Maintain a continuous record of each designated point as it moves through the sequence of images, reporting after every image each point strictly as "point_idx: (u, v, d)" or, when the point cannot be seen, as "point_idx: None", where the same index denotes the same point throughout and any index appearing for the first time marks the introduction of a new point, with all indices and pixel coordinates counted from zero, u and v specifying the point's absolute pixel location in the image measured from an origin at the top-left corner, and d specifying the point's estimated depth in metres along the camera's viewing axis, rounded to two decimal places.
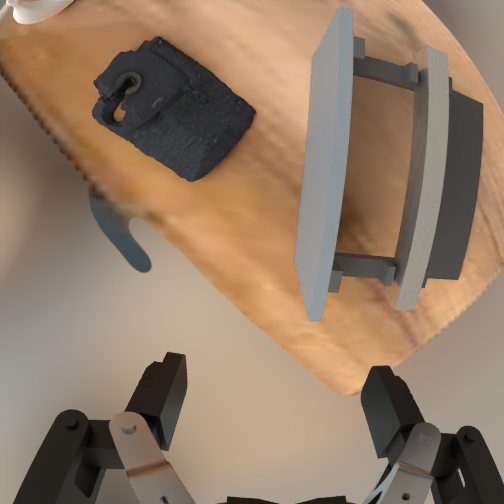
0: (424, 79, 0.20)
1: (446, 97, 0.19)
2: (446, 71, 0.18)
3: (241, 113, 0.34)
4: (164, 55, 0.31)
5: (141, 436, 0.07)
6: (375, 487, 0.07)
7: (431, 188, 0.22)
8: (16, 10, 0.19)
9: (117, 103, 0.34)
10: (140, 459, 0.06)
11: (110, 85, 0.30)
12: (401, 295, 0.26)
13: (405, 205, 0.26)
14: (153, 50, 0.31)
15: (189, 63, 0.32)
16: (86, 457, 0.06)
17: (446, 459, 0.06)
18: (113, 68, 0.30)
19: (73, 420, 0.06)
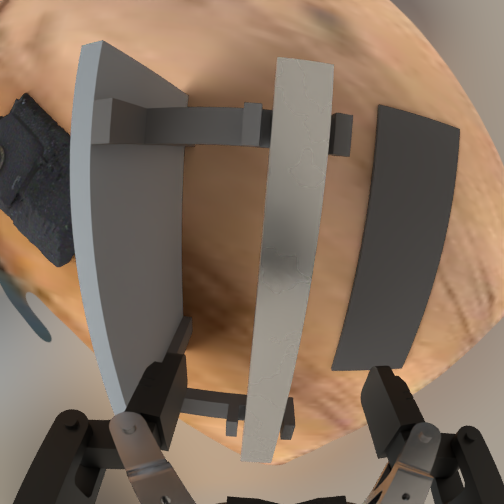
0: None
1: (318, 172, 0.12)
2: (326, 108, 0.11)
3: None
4: (24, 120, 0.23)
5: (141, 436, 0.07)
6: (375, 487, 0.07)
7: (273, 350, 0.15)
8: None
9: None
10: (140, 459, 0.06)
11: None
12: (246, 452, 0.18)
13: None
14: (16, 115, 0.23)
15: (45, 127, 0.24)
16: (86, 457, 0.06)
17: (446, 459, 0.06)
18: None
19: (73, 420, 0.06)
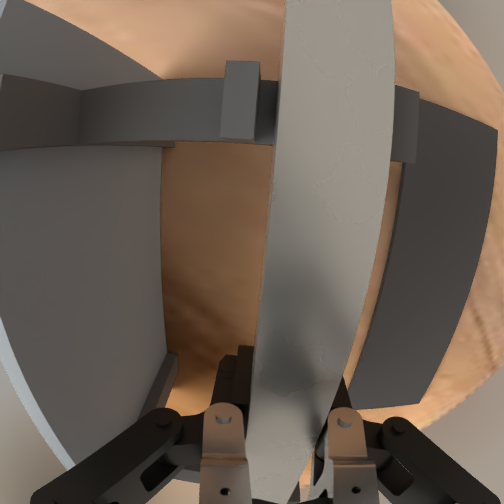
0: (277, 119, 0.06)
1: (373, 194, 0.06)
2: (385, 69, 0.05)
3: None
4: None
5: (240, 425, 0.08)
6: (313, 481, 0.07)
7: (275, 455, 0.09)
8: None
9: None
10: (221, 449, 0.07)
11: None
12: None
13: None
14: None
15: None
16: (165, 456, 0.07)
17: (370, 449, 0.07)
18: None
19: (166, 420, 0.07)
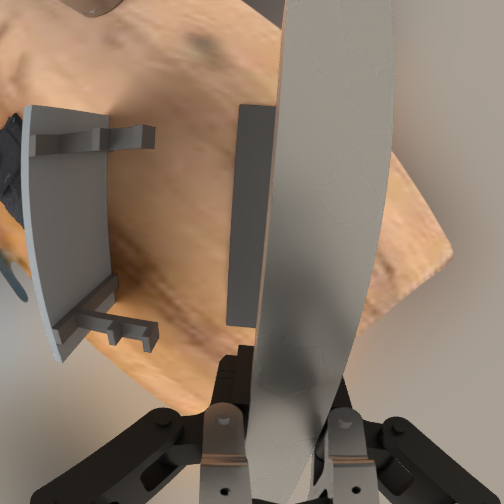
0: (277, 122, 0.06)
1: (372, 197, 0.06)
2: (385, 71, 0.05)
3: None
4: (14, 133, 0.32)
5: (240, 424, 0.08)
6: (313, 481, 0.07)
7: (274, 455, 0.09)
8: None
9: None
10: (221, 449, 0.07)
11: None
12: None
13: None
14: (8, 130, 0.32)
15: None
16: (165, 456, 0.07)
17: (370, 449, 0.07)
18: None
19: (166, 420, 0.07)
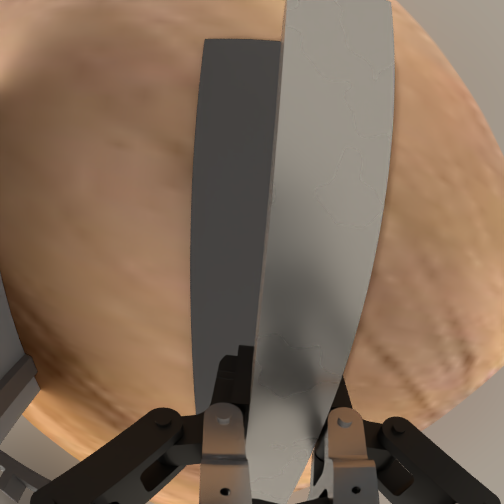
0: None
1: (372, 198, 0.06)
2: (385, 72, 0.05)
3: None
4: None
5: (240, 424, 0.08)
6: (313, 481, 0.07)
7: (274, 455, 0.09)
8: None
9: None
10: (221, 449, 0.07)
11: None
12: None
13: None
14: None
15: None
16: (165, 456, 0.07)
17: (371, 449, 0.07)
18: None
19: (166, 420, 0.07)
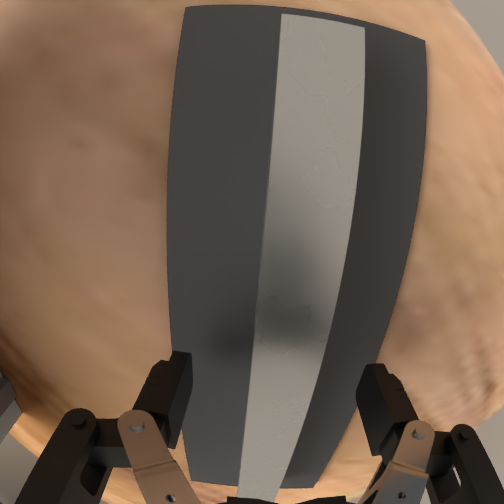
0: (272, 128, 0.08)
1: (345, 185, 0.08)
2: (356, 87, 0.07)
3: None
4: None
5: (150, 434, 0.07)
6: (370, 486, 0.07)
7: (273, 416, 0.10)
8: None
9: None
10: (147, 457, 0.06)
11: None
12: None
13: None
14: None
15: None
16: (93, 456, 0.06)
17: (440, 457, 0.06)
18: None
19: (81, 419, 0.07)
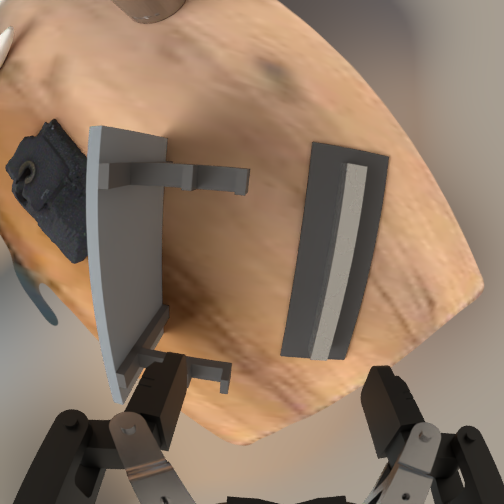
0: (341, 193, 0.32)
1: (359, 208, 0.32)
2: (363, 184, 0.31)
3: None
4: (53, 143, 0.33)
5: (141, 436, 0.07)
6: (375, 487, 0.07)
7: (337, 280, 0.35)
8: None
9: None
10: (140, 459, 0.06)
11: (14, 173, 0.32)
12: (315, 350, 0.38)
13: (322, 287, 0.38)
14: (46, 138, 0.33)
15: (71, 153, 0.34)
16: (86, 457, 0.06)
17: (446, 459, 0.06)
18: (17, 155, 0.32)
19: (73, 420, 0.06)
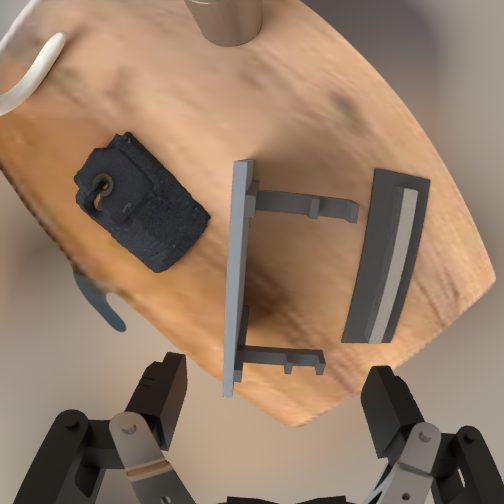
0: (398, 211, 0.39)
1: (411, 223, 0.38)
2: (414, 204, 0.38)
3: (197, 220, 0.42)
4: (132, 157, 0.39)
5: (141, 436, 0.07)
6: (375, 487, 0.07)
7: (393, 279, 0.41)
8: None
9: (96, 194, 0.42)
10: (140, 459, 0.06)
11: (87, 185, 0.38)
12: (372, 336, 0.45)
13: (378, 284, 0.45)
14: (123, 151, 0.39)
15: (154, 168, 0.40)
16: (86, 457, 0.06)
17: (446, 459, 0.06)
18: (89, 167, 0.38)
19: (73, 420, 0.06)
